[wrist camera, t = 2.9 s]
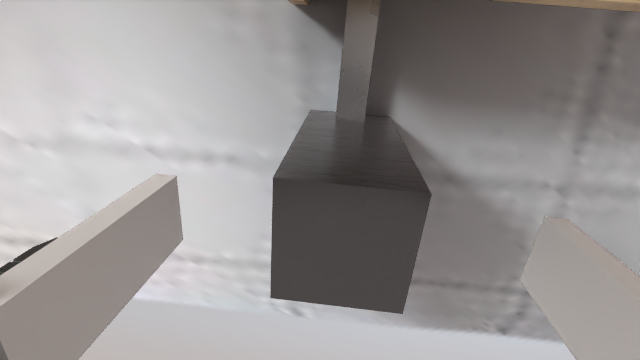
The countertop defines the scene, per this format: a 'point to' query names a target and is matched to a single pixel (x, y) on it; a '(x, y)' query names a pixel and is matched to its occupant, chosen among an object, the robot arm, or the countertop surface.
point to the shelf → (564, 3)
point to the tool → (348, 195)
